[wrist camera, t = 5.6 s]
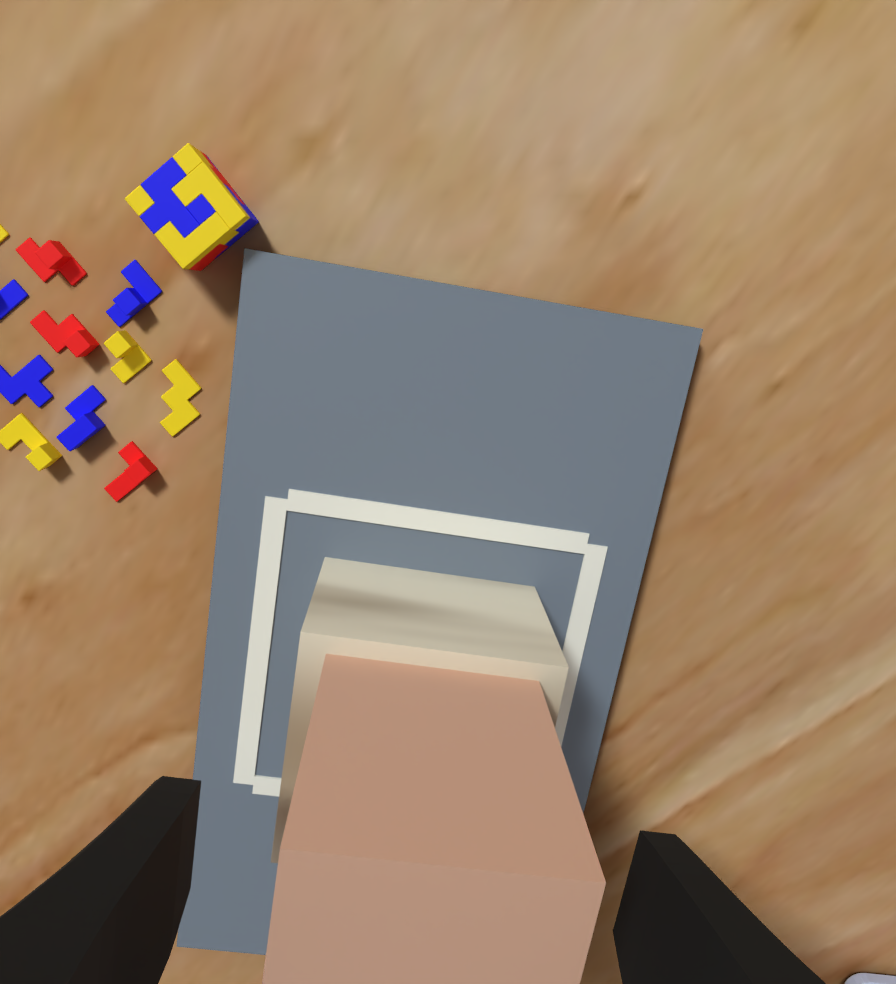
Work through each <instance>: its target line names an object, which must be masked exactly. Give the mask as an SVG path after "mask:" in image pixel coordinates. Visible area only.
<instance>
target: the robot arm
mask: <svg viewBox="0 0 896 984" xmlns="http://www.w3.org/2000/svg"><path fill="white" fill-rule="evenodd" d="M200 790H201V780H192V779H183V778H174V777H166V776H162V777H160V778H159V779H158V780H156V781H155V782H154V783H153V784H152V785H151V786H150V787H149V788H148V789H147V790H146V791H145V792H144V793H143V794H142V795H141V796H140V797H138V798H137V799H136V800H135V801H134V802H133V803H132V804H131V805H130V806H129V807H128V808H127V809H126V810H125V811H124V812H123V813H122V814H121V815H120V816H119V817H118V818H117V819H116V820H115V821H114V822H112V823H111V824H110V825H109V826H108V827H107V828H106V829H105V830H104V831H103V832H102V833H101V834H99V835H98V836H97V837H96V838H95V839H94V840H93V841H92V842H90V843H89V844H88V845H87V846H86V847H85V848H84V849H83V850H81V851H80V852H79V853H78V854H77V855H76V856H75V857H74V858H72V859H71V860H70V861H69V862H68V863H67V864H66V865H64V866H63V867H62V868H61V869H60V870H58V871H57V872H56V873H55V874H54V875H52V876H51V877H50V878H49V879H47V880H46V881H45V882H44V883H42V884H41V885H40V886H39V887H37V888H36V889H35V890H34V891H32V892H31V893H30V894H29V895H27V896H26V897H25V898H24V899H22V900H21V901H20V902H19V903H17V904H16V905H15V906H14V907H12V908H11V909H10V910H8V911H7V912H6V913H4V914H3V915H2V916H0V984H158V982H159V980H160V978H161V975H162V973H163V971H164V968H165V966H166V963H167V961H168V959H169V956H170V953H171V950H172V947H173V944H174V941H175V938H176V934H177V931H178V928H179V925H180V922H181V918H182V915H183V912H184V908H185V905H186V902H187V899H188V895H189V892H190V889H191V880H192V870H193V860H194V850H195V840H196V830H197V820H198V810H199V800H200ZM613 934H614V940H615V945H616V951H617V956H618V962H619V968H620V972H621V977H622V982H623V984H826V983H824V982H823V981H822V980H821V979H820V978H819V977H818V976H817V975H816V974H815V973H814V972H813V971H811V970H810V969H809V968H808V967H807V966H806V965H805V964H804V963H803V962H802V961H801V960H800V959H798V958H797V957H796V956H795V955H794V954H793V953H792V952H791V951H790V950H789V949H788V948H787V947H786V946H785V945H784V944H783V943H782V942H781V941H780V940H779V939H778V938H777V937H776V936H775V935H774V934H773V933H772V932H771V931H770V930H769V929H768V928H767V927H766V926H765V925H764V924H763V923H762V922H761V921H760V920H759V919H758V918H757V917H756V916H755V915H754V914H753V913H752V912H751V911H750V910H749V909H748V908H747V907H746V906H745V905H744V904H743V903H742V902H741V901H740V900H739V899H738V898H737V897H736V896H735V895H734V894H733V893H732V892H731V891H730V889H729V888H728V887H727V886H726V885H725V884H724V883H723V882H722V881H721V880H720V879H719V878H718V877H717V876H716V875H715V874H714V873H713V872H712V871H711V870H710V869H709V868H708V867H707V866H706V864H705V863H704V862H703V861H702V860H701V859H700V858H699V857H698V856H697V855H696V854H695V853H694V852H693V851H692V850H691V849H690V848H689V847H688V846H687V845H686V844H685V843H684V842H683V841H682V840H681V839H680V838H679V837H677V836H676V835H675V834H666V833H657V832H649V831H640V833H639V837H638V840H637V844H636V848H635V851H634V855H633V859H632V862H631V866H630V870H629V874H628V877H627V881H626V885H625V888H624V892H623V896H622V899H621V903H620V907H619V910H618V914H617V918H616V922H615V925H614V929H613ZM844 984H896V976H890V975H880V974H870V973H857V974H854V975H852V976H851V977H849V978H848V979H847V980H846V982H845V983H844Z"/></svg>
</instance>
